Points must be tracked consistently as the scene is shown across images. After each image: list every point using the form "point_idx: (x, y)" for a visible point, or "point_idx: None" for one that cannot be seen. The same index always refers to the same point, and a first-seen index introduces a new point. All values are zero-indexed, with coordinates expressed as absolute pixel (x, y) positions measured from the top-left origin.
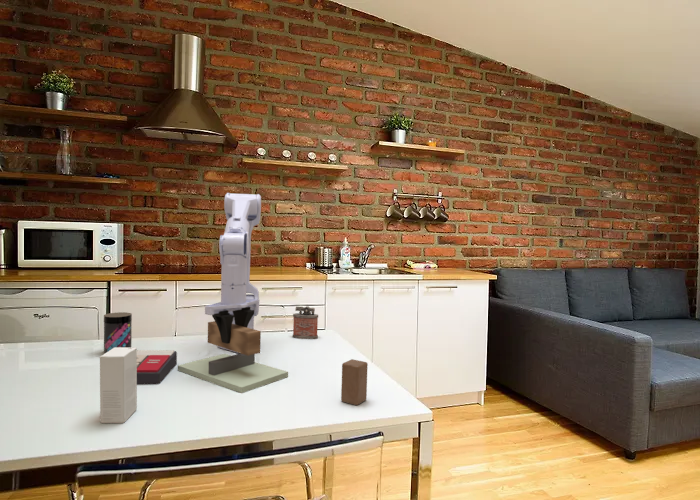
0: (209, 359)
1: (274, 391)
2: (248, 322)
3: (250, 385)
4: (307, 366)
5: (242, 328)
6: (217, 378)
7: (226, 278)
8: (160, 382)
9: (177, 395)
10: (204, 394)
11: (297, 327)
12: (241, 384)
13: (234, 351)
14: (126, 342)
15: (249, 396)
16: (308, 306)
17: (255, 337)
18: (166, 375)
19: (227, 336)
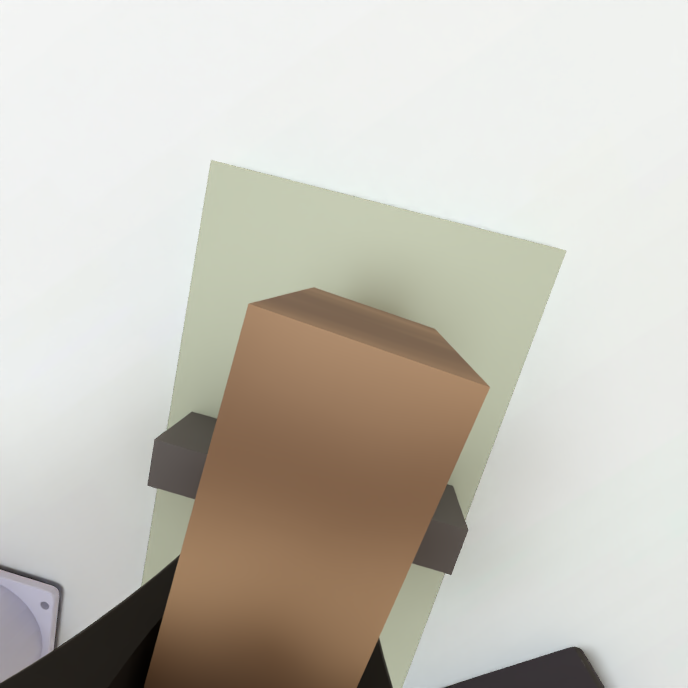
0: None
1: (458, 104)
2: (28, 677)
3: (498, 235)
4: (21, 166)
5: (249, 618)
6: (485, 446)
7: None
8: (564, 651)
9: (682, 501)
10: (629, 403)
11: None
12: (520, 280)
13: (56, 614)
14: None
15: (578, 186)
16: None
17: (356, 323)
18: (475, 679)
19: (380, 652)
